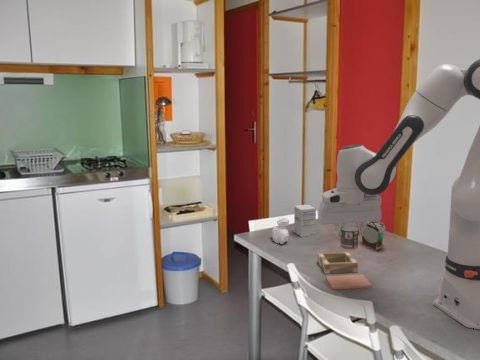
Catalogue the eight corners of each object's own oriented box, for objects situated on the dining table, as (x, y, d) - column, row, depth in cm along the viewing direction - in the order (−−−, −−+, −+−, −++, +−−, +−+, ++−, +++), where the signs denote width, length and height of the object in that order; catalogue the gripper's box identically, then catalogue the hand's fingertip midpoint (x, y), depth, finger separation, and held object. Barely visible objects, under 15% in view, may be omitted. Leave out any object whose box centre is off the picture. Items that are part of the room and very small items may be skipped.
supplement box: (293, 232, 212) (293, 205, 210) (308, 230, 214) (308, 203, 212) (300, 237, 205) (300, 209, 203) (316, 235, 208) (316, 207, 205)
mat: (371, 287, 154) (371, 285, 154) (332, 289, 154) (332, 287, 153) (362, 276, 163) (362, 274, 163) (325, 278, 162) (325, 276, 162)
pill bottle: (358, 252, 153) (359, 222, 151) (340, 251, 154) (340, 222, 152) (357, 246, 158) (358, 217, 156) (340, 245, 159) (340, 217, 157)
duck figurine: (287, 250, 196) (302, 227, 197) (274, 242, 193) (289, 219, 194) (275, 241, 207) (289, 220, 208) (262, 233, 204) (276, 211, 205)
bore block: (357, 272, 167) (357, 263, 166) (325, 274, 166) (325, 264, 165) (348, 260, 178) (348, 251, 177) (317, 261, 177) (317, 253, 177)
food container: (391, 250, 187) (392, 226, 185) (378, 252, 185) (379, 228, 183) (372, 240, 199) (372, 218, 196) (359, 243, 196) (360, 220, 194)
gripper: (378, 190, 156) (376, 230, 159) (317, 193, 155) (317, 233, 157) (385, 195, 150) (383, 236, 152) (321, 198, 148) (321, 240, 151)
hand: (349, 235), depth 155 cm, fingers closed on pill bottle, 6 cm apart
